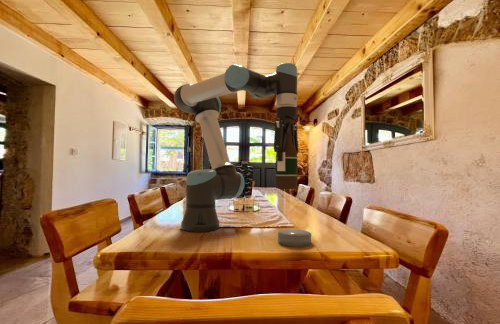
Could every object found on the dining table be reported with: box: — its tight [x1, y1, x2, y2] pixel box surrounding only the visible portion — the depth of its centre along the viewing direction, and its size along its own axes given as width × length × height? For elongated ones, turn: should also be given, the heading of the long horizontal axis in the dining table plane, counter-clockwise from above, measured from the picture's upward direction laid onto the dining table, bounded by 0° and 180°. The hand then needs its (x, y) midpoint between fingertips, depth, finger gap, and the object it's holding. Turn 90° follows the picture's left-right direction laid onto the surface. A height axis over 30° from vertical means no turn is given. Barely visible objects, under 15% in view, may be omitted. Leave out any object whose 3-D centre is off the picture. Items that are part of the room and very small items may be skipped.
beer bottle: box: [275, 121, 298, 190], centre depth 98 cm, size 8×8×24 cm
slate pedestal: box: [277, 228, 312, 248], centre depth 91 cm, size 11×11×3 cm
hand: (286, 170), depth 98 cm, fingers closed on beer bottle, 8 cm apart
